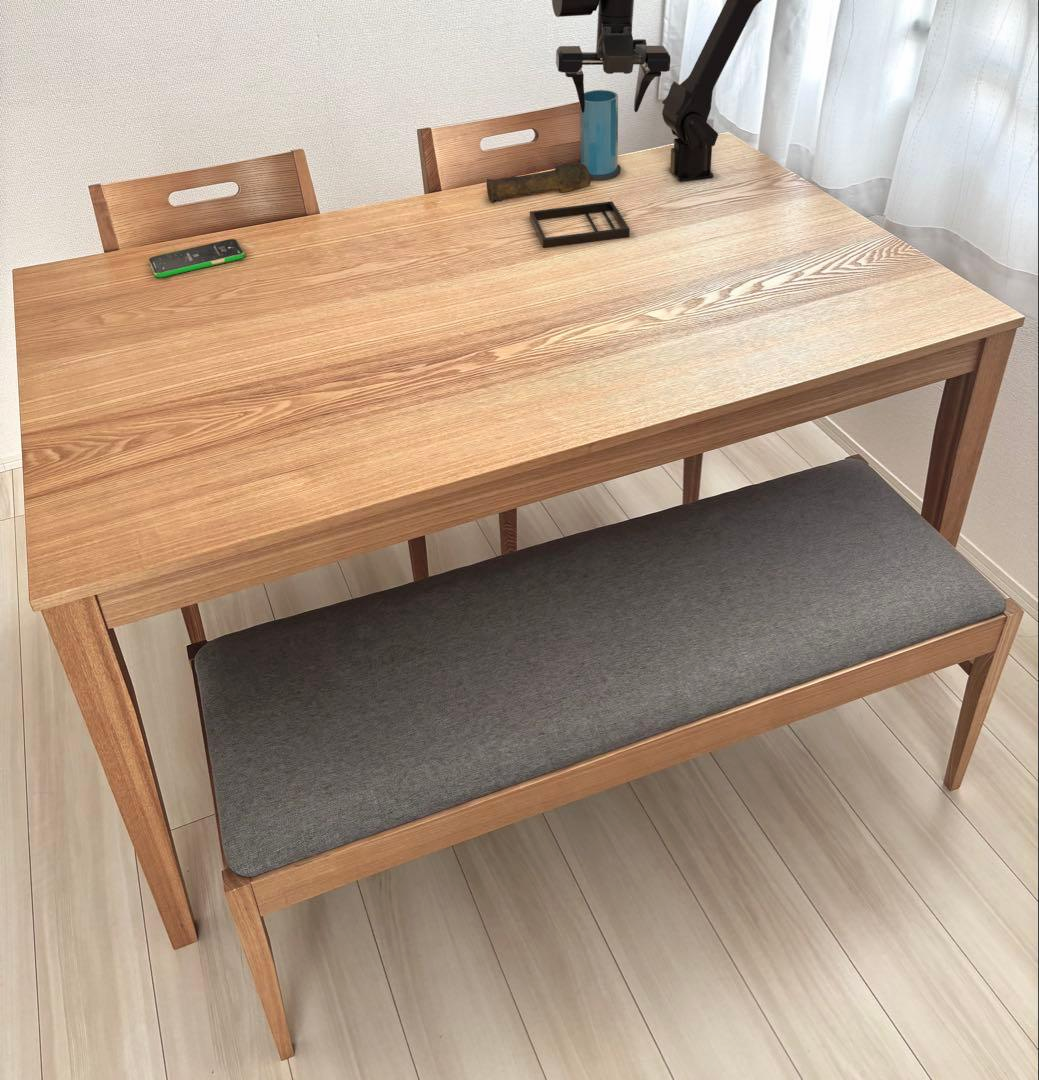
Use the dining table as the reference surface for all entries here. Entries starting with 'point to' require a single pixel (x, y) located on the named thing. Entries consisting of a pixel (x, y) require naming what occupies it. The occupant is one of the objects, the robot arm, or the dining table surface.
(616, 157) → the cup
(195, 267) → the smartphone
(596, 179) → the trivet
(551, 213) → the black rectangular frame
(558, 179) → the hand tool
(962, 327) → the dining table surface
